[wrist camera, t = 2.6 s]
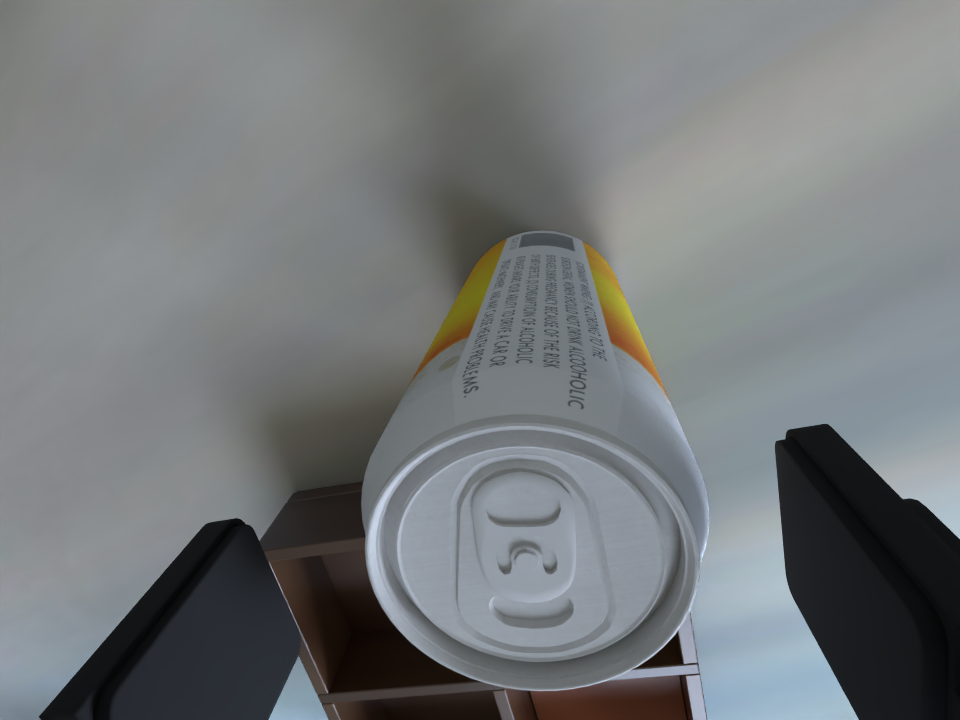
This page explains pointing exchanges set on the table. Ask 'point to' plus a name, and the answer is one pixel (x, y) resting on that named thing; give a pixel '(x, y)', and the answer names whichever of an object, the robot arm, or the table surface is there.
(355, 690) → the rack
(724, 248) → the table surface
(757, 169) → the table surface
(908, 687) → the robot arm
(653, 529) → the beer can
